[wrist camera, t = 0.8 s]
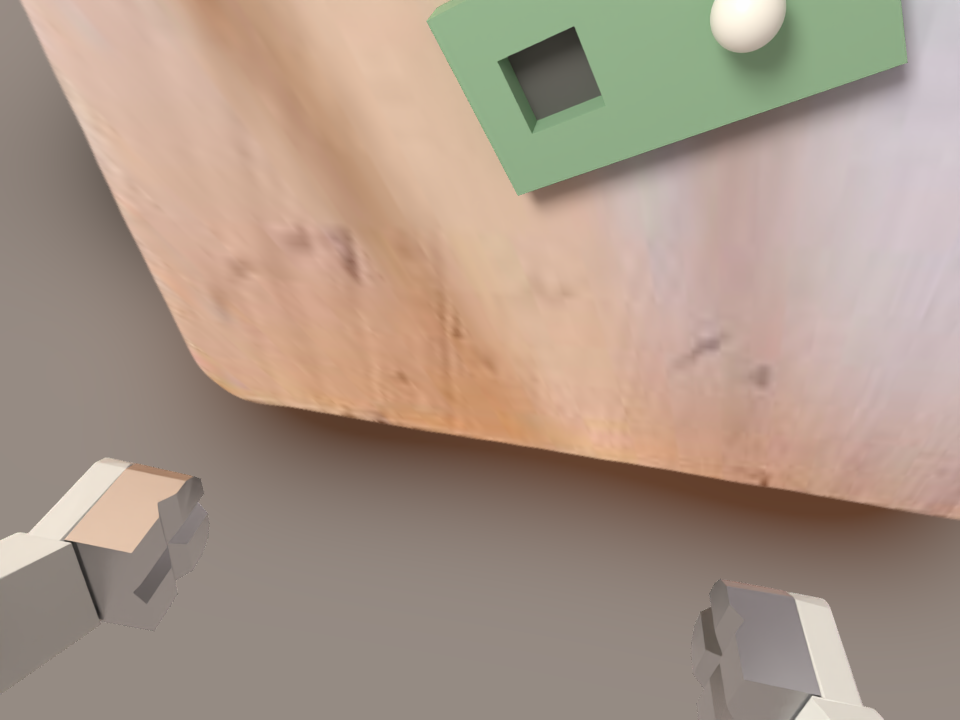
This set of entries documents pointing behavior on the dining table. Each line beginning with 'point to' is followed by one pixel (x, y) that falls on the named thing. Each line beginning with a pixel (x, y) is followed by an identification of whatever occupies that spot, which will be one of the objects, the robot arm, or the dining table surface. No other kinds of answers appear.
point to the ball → (746, 23)
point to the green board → (641, 72)
